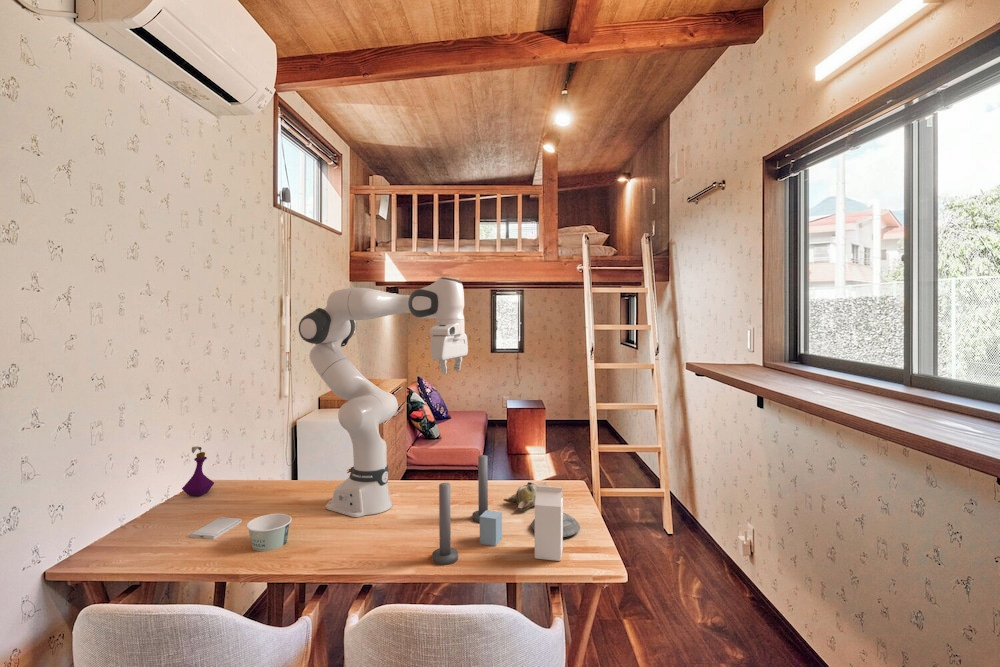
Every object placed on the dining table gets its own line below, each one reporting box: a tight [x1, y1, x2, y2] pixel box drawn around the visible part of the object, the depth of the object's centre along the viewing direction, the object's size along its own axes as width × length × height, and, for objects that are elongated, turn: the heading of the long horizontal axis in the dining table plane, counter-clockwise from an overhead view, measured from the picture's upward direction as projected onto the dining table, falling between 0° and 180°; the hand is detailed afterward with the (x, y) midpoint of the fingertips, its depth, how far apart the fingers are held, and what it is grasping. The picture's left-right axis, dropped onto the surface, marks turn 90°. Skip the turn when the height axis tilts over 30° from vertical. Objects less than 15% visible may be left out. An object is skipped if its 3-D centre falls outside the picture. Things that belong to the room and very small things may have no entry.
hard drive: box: [189, 516, 242, 540], centre depth 156 cm, size 2×8×12 cm
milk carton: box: [534, 485, 564, 562], centre depth 139 cm, size 7×7×19 cm
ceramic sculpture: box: [503, 481, 548, 511], centre depth 174 cm, size 11×9×15 cm
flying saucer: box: [530, 512, 581, 538], centre depth 155 cm, size 15×15×6 cm
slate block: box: [479, 510, 503, 547], centre depth 147 cm, size 5×5×8 cm
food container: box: [245, 513, 293, 552], centre depth 146 cm, size 12×12×6 cm
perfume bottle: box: [181, 446, 215, 497], centre depth 185 cm, size 8×8×18 cm
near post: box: [431, 482, 459, 566], centre depth 137 cm, size 7×7×20 cm
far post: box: [471, 454, 489, 524], centre depth 163 cm, size 7×7×20 cm
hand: (451, 372), depth 160 cm, fingers open, 8 cm apart
